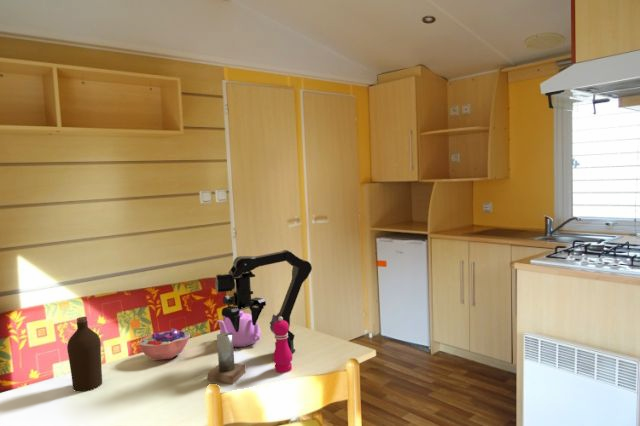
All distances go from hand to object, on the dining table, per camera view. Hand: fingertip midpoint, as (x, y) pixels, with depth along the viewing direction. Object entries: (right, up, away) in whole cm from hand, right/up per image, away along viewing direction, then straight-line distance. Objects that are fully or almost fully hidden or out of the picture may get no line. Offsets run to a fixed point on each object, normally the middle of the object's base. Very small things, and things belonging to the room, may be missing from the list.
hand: (245, 328), depth 179 cm
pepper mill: (+16, -13, -9) cm, 22 cm away
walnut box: (-5, -14, -13) cm, 20 cm away
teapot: (-7, -12, +21) cm, 25 cm away
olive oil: (-54, -17, -15) cm, 59 cm away
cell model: (-34, -15, +10) cm, 38 cm away
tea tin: (-5, -11, -13) cm, 18 cm away
